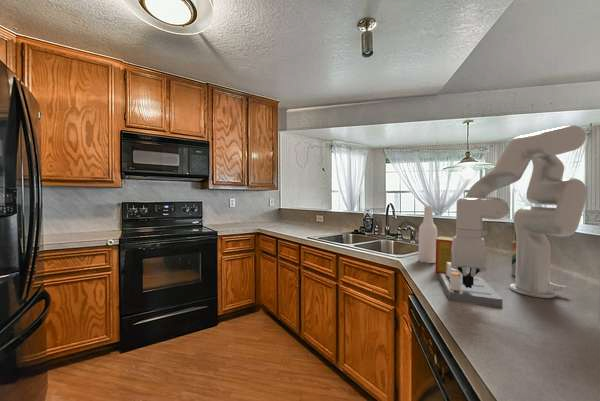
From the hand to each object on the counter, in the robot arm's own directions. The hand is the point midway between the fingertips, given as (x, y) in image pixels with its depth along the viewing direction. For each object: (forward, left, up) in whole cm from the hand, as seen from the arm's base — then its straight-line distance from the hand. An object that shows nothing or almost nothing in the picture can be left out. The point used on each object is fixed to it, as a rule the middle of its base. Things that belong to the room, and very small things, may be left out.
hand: (467, 286), depth 91 cm
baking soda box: (+2, -33, -5) cm, 33 cm away
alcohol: (+8, -50, -4) cm, 51 cm away
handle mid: (+3, -8, -1) cm, 9 cm away
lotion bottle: (-28, -38, -4) cm, 47 cm away
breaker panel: (-1, -8, -4) cm, 9 cm away
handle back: (+3, -16, -1) cm, 16 cm away
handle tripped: (+4, 0, -1) cm, 4 cm away
